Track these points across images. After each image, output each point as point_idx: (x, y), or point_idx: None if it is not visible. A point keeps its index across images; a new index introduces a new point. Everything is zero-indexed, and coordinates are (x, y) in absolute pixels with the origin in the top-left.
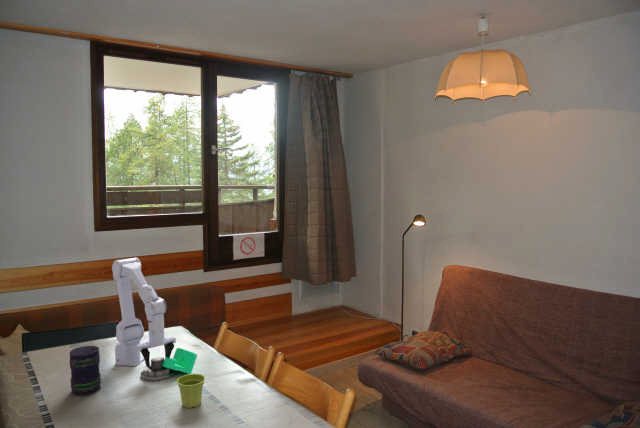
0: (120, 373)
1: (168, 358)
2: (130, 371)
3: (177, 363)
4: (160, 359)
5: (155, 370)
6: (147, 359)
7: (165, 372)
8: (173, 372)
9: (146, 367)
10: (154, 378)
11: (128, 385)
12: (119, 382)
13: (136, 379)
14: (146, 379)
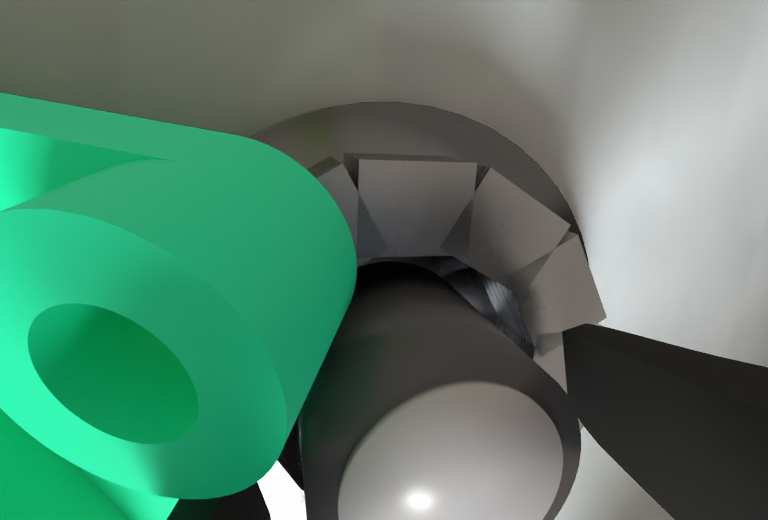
0: None
1: (189, 281)
2: (609, 499)
3: (44, 462)
4: (403, 455)
5: (462, 256)
6: (764, 379)
7: None
8: None
9: None
10: (465, 124)
11: (721, 141)
12: (757, 269)
13: (614, 279)
14: (546, 184)
